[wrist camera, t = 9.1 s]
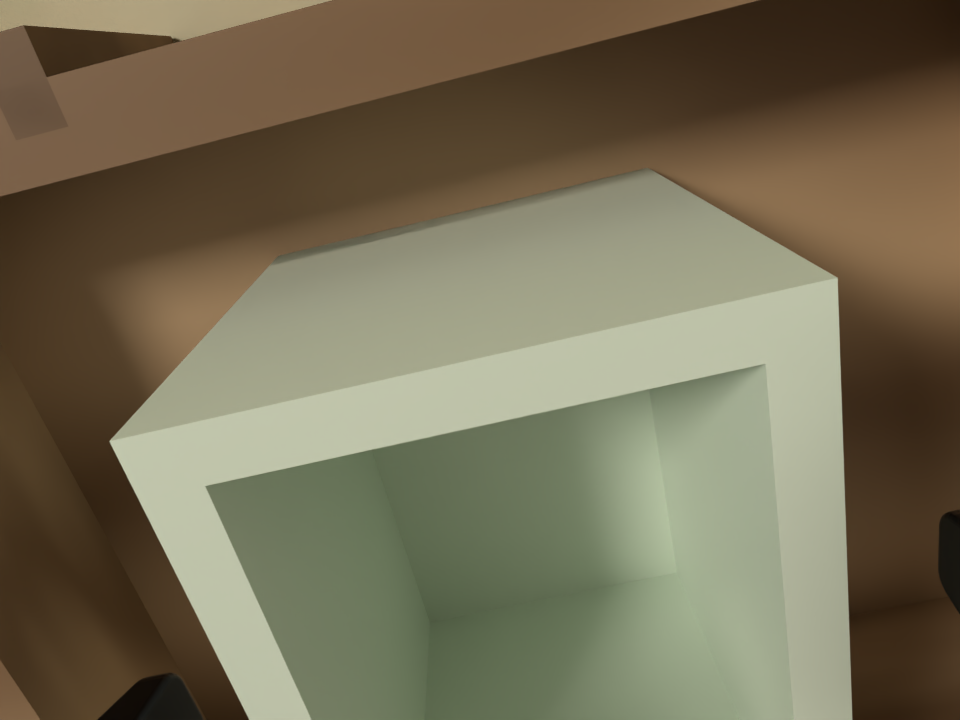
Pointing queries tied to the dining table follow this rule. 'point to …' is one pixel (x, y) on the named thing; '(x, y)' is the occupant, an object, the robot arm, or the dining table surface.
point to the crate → (436, 193)
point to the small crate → (517, 470)
